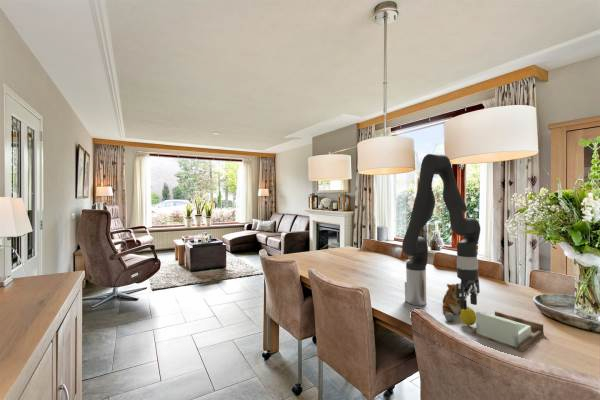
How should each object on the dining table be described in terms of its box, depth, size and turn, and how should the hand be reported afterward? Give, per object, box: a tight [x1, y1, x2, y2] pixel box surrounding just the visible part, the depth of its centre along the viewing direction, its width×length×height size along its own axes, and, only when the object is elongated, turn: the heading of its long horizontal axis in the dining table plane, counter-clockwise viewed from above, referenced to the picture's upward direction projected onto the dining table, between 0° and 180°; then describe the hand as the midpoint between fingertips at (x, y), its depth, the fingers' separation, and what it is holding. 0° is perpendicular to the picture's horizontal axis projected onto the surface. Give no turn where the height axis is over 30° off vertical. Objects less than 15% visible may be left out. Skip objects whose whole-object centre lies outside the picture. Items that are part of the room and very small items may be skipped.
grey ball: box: [444, 313, 455, 322], centre depth 120 cm, size 4×4×4 cm
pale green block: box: [475, 311, 531, 348], centre depth 105 cm, size 13×13×8 cm
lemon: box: [459, 306, 476, 327], centre depth 114 cm, size 6×6×8 cm
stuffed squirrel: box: [442, 283, 462, 315], centre depth 130 cm, size 10×14×13 cm
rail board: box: [471, 311, 545, 353], centre depth 107 cm, size 16×21×4 cm
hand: (468, 306), depth 114 cm, fingers open, 8 cm apart
